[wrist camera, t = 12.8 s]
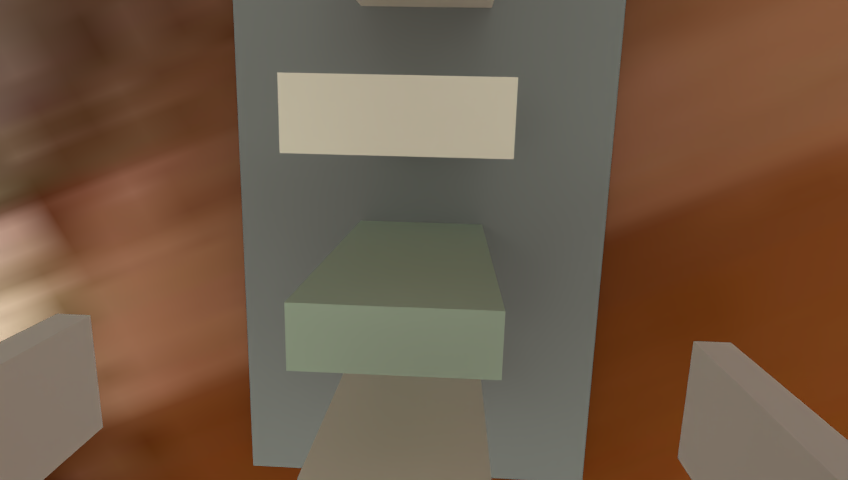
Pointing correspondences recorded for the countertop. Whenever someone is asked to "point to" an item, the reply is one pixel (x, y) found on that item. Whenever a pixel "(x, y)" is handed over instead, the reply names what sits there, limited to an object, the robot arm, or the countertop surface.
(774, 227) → the countertop surface
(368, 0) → the ivory domino
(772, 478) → the robot arm
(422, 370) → the sage domino
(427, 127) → the ivory domino
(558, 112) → the domino mat
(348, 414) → the ivory domino
